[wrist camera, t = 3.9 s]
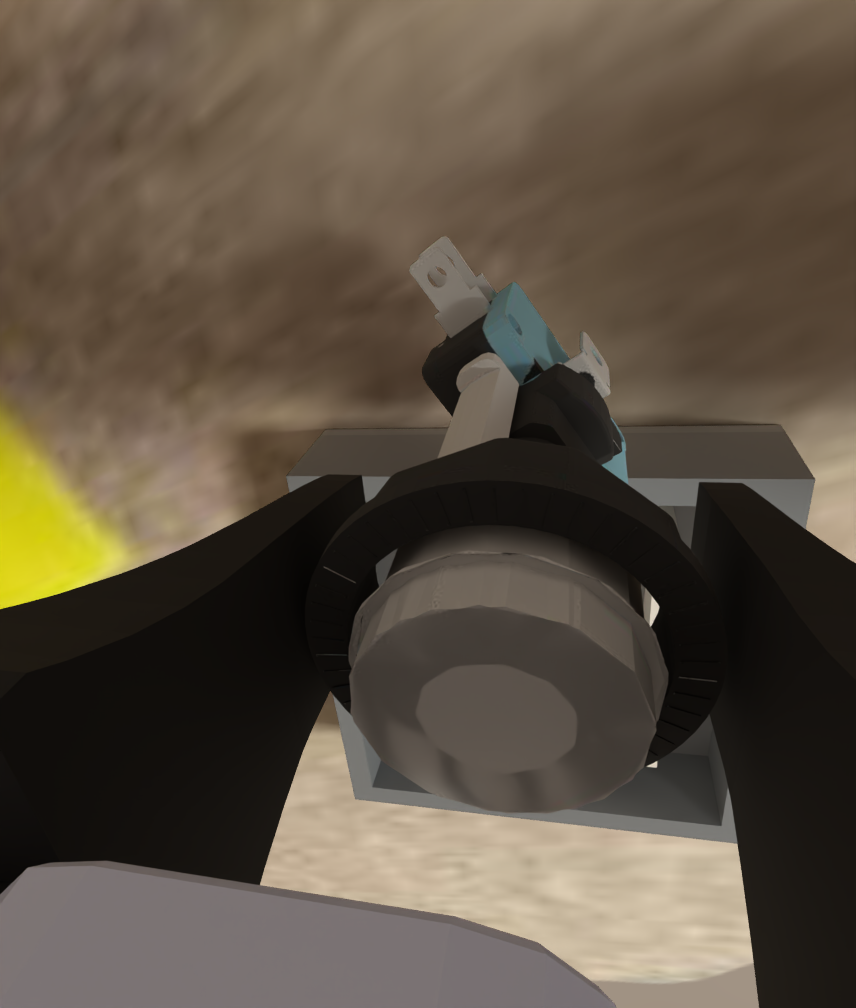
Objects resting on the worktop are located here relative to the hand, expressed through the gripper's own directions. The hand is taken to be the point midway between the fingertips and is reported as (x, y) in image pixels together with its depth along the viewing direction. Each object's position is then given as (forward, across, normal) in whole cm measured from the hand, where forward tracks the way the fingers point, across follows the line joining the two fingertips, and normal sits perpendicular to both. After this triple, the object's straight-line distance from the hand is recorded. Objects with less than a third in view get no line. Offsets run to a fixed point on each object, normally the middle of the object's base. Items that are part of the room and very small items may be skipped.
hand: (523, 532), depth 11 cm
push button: (+6, 0, -1) cm, 6 cm away
